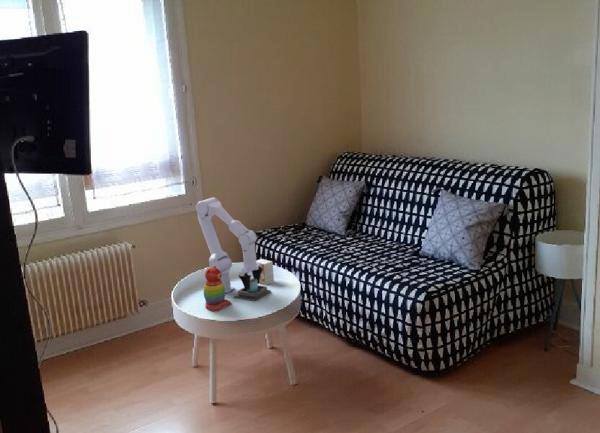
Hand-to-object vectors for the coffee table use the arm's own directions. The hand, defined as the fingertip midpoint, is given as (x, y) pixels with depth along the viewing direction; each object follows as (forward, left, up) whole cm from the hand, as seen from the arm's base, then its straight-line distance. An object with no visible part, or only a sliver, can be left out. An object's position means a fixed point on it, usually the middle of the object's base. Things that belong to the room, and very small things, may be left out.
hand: (252, 286), depth 276 cm
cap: (0, 0, -3) cm, 3 cm away
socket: (0, 0, -4) cm, 4 cm away
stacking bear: (-7, -17, -4) cm, 19 cm away
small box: (-5, +17, -4) cm, 18 cm away
